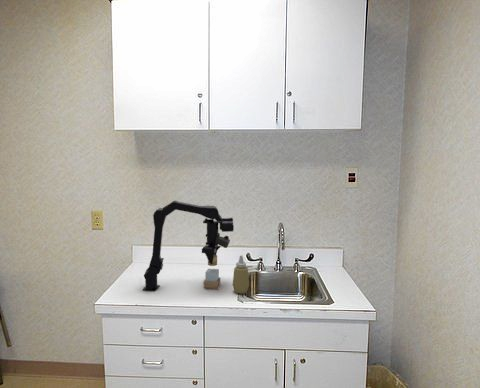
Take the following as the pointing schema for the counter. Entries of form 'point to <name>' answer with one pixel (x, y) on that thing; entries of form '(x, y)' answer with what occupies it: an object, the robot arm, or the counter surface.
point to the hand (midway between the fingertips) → (212, 262)
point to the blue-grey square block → (212, 275)
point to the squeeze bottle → (240, 277)
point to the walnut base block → (212, 284)
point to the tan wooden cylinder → (213, 261)
